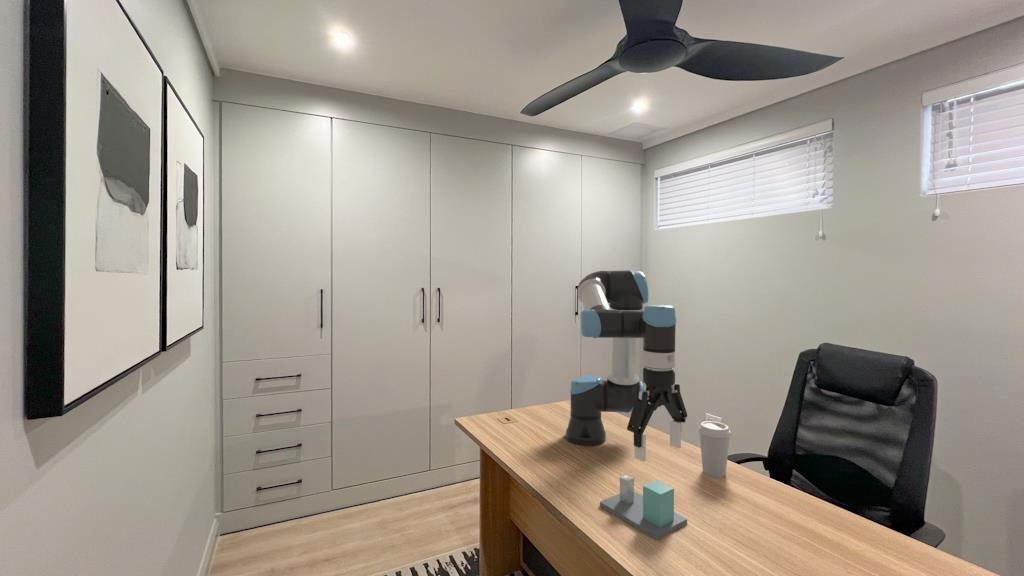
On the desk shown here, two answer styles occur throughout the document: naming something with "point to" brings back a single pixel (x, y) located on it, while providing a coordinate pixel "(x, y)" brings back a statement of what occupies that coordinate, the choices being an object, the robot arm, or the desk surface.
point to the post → (627, 489)
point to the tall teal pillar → (658, 503)
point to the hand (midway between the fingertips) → (658, 452)
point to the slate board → (640, 516)
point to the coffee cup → (714, 447)
